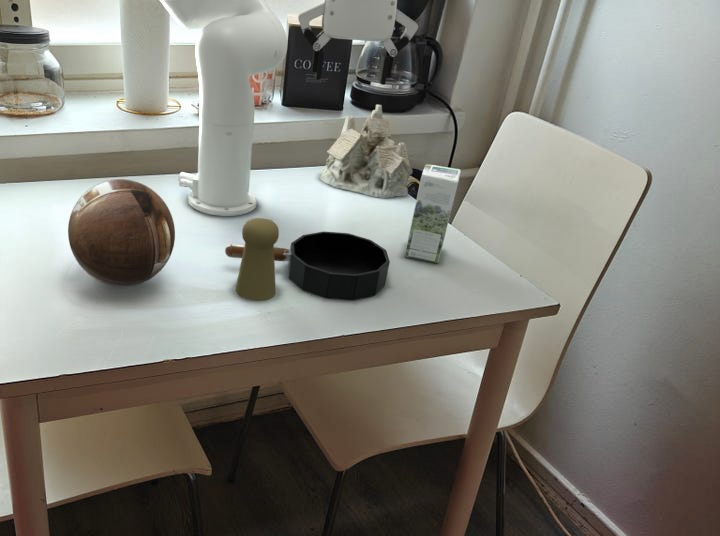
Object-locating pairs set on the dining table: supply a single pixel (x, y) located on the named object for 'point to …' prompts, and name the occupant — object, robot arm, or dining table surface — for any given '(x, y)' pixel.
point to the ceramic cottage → (368, 159)
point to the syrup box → (432, 212)
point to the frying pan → (332, 264)
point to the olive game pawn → (258, 260)
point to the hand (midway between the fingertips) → (349, 80)
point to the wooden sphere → (121, 232)
